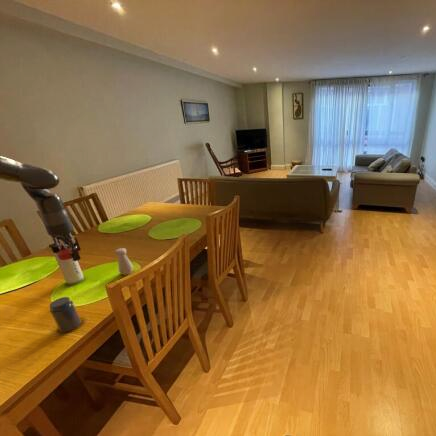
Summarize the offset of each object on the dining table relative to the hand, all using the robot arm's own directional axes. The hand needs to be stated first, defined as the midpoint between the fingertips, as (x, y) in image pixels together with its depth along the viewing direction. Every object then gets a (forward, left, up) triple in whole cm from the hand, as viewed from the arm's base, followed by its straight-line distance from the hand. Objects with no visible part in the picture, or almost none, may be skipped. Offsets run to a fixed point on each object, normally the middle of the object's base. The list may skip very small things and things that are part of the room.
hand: (72, 258), depth 99 cm
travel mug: (+2, +12, -17) cm, 21 cm away
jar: (-14, -17, -16) cm, 28 cm away
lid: (-1, 0, +3) cm, 3 cm away
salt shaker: (+16, -4, -17) cm, 23 cm away
